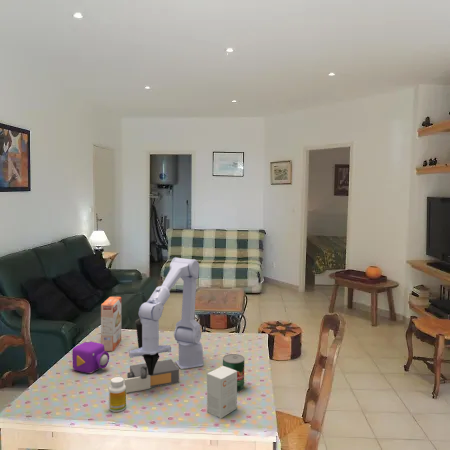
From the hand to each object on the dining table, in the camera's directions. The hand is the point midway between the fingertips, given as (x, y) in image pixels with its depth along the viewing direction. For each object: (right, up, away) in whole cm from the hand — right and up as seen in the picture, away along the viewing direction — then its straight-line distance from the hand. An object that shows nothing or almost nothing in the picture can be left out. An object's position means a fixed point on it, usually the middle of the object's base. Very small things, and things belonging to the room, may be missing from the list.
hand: (150, 373), depth 155 cm
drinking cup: (-9, -3, +35) cm, 37 cm away
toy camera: (-26, -4, +17) cm, 31 cm away
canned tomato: (+29, -6, +3) cm, 30 cm away
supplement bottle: (-9, -7, -12) cm, 17 cm away
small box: (+25, -8, -13) cm, 29 cm away
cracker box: (-24, -2, +42) cm, 48 cm away
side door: (-4, -6, -1) cm, 7 cm away
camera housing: (0, -5, +8) cm, 9 cm away
